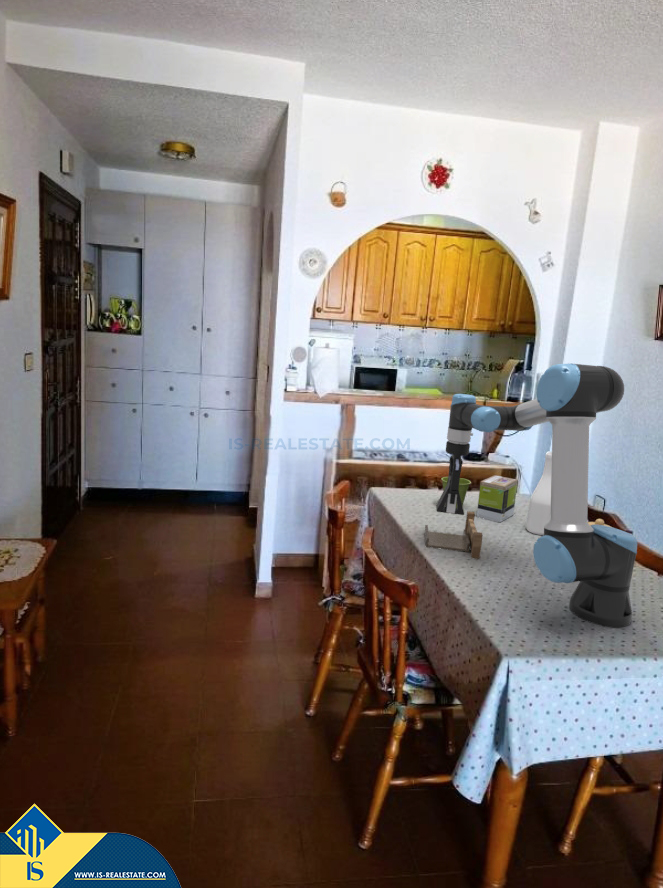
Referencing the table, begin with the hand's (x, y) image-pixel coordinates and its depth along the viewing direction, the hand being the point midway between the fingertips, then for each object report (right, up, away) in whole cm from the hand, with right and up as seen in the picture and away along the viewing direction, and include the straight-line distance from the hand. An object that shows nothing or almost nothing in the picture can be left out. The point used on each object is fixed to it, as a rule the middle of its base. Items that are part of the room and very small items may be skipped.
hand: (449, 509), depth 204 cm
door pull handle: (+8, -12, +1) cm, 14 cm away
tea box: (+25, -7, +37) cm, 45 cm away
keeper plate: (-1, -11, +2) cm, 11 cm away
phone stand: (0, -1, 0) cm, 1 cm away
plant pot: (+10, -4, +45) cm, 46 cm away
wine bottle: (+37, -11, +22) cm, 44 cm away
